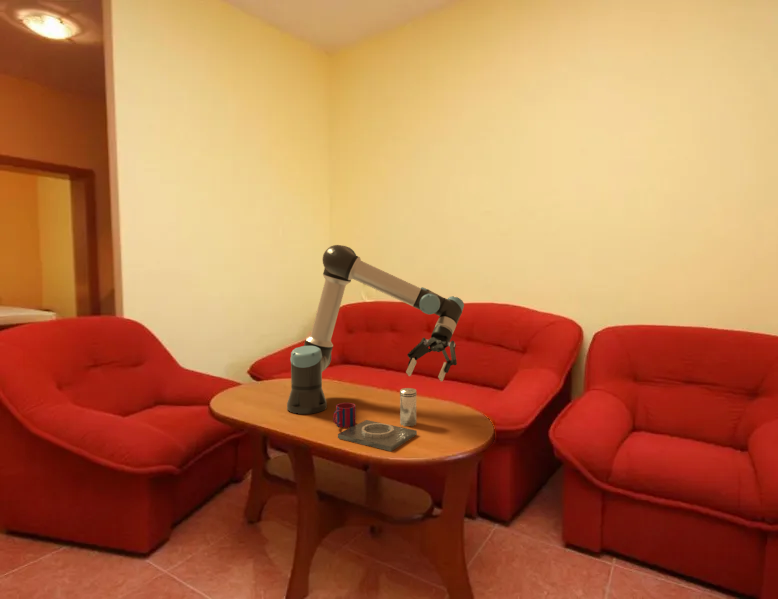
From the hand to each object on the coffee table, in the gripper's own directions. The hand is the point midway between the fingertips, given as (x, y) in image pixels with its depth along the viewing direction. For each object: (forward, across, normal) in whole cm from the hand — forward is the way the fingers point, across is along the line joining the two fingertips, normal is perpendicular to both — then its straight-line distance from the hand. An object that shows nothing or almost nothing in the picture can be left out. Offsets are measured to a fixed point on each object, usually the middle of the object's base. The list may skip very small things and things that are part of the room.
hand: (423, 376), depth 172 cm
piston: (+18, 0, -3) cm, 18 cm away
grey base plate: (+29, +2, +8) cm, 30 cm away
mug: (+28, +18, +7) cm, 34 cm away
